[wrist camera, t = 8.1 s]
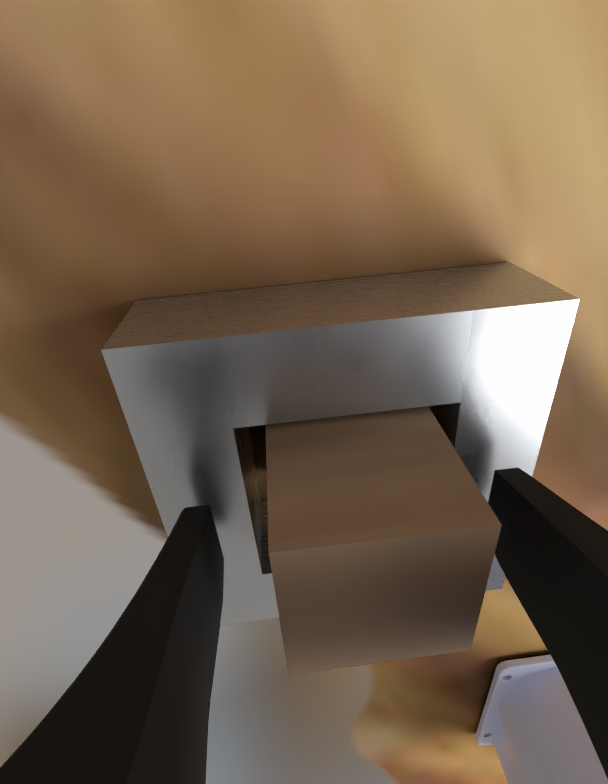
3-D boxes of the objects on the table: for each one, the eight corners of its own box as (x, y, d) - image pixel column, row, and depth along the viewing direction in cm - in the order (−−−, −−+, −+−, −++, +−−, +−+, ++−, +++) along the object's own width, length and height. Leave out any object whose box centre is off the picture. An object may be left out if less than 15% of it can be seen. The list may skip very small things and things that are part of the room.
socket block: (464, 519, 17) (502, 588, 14) (209, 551, 17) (200, 628, 14) (509, 262, 12) (579, 299, 9) (136, 300, 11) (100, 350, 9)
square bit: (391, 458, 15) (470, 650, 9) (277, 471, 15) (288, 674, 9) (397, 355, 13) (501, 525, 7) (264, 369, 13) (268, 552, 7)
